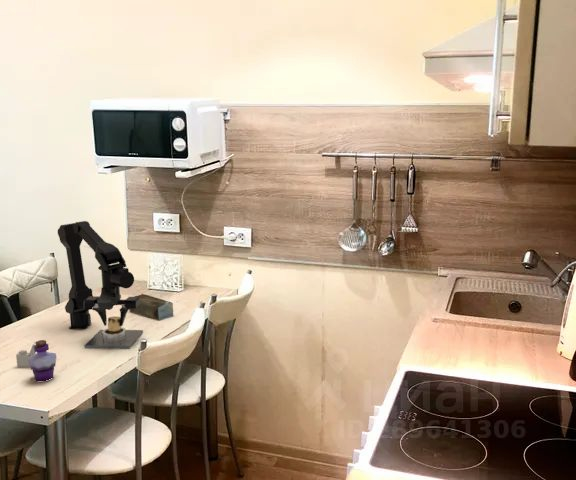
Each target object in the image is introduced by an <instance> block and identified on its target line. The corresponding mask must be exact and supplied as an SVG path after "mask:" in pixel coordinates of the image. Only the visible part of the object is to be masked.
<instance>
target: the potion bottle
mask: <svg viewBox="0 0 576 480" xmlns="http://www.w3.org/2000/svg"><path fill="white" fill-rule="evenodd" d="M35 342H36V345H35V346H34V352H36V353H35V354H34V355H32V356H30V357H28V362H29V365H30V367H29V368H30V370H31V371H32V373H33V376H34V381H35V380H36V381H35V382H37V381H46V380H49V379H51V378H53V379H54V372H55V367H56V363H57V353H55V352H50V351H48V350H50V349H49V348H50V347H49V343H47V341H46V340H45V339H40V340H37V341H35ZM51 380H52V379H51ZM49 381H50V380H49ZM46 382H47V381H46Z"/></svg>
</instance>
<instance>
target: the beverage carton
mask: <svg viewBox="0 0 576 480" xmlns="http://www.w3.org/2000/svg"><path fill="white" fill-rule="evenodd" d="M134 297H139V298H140V305H139V306H138V307H137V308H135V309H129V310H128V312H130V313H132V314H135V315H139V316H142V317H145V318H147V319H151V320H152V319H153V320H156V321H158V322H159V321H163V320H166V319H169V318H172V317H174V303H173V302H171V301H168V300H165V299H162V298H158V297H155V296H152V295H148V294H144V293H141V294H138V295H135V296H134Z"/></svg>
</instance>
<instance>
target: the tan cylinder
mask: <svg viewBox="0 0 576 480" xmlns="http://www.w3.org/2000/svg"><path fill="white" fill-rule="evenodd" d="M121 327H122V326H121V323H120V316H109V317H108V319H107V328H108V334H117V333H120V332H121Z"/></svg>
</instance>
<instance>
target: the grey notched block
mask: <svg viewBox="0 0 576 480" xmlns="http://www.w3.org/2000/svg"><path fill="white" fill-rule="evenodd" d="M35 345H36V341H34V342H33V344H32V346H31V349H30V350H29V352H28V350H27V349H26V350H24V349H22V350H19V351H18V352H17V353H16V354H15V355H16V356H15V358H16V367H17V368H30V365H29V362H28V357H30V356H32V355H34V354H37V352H34V346H35Z"/></svg>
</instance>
